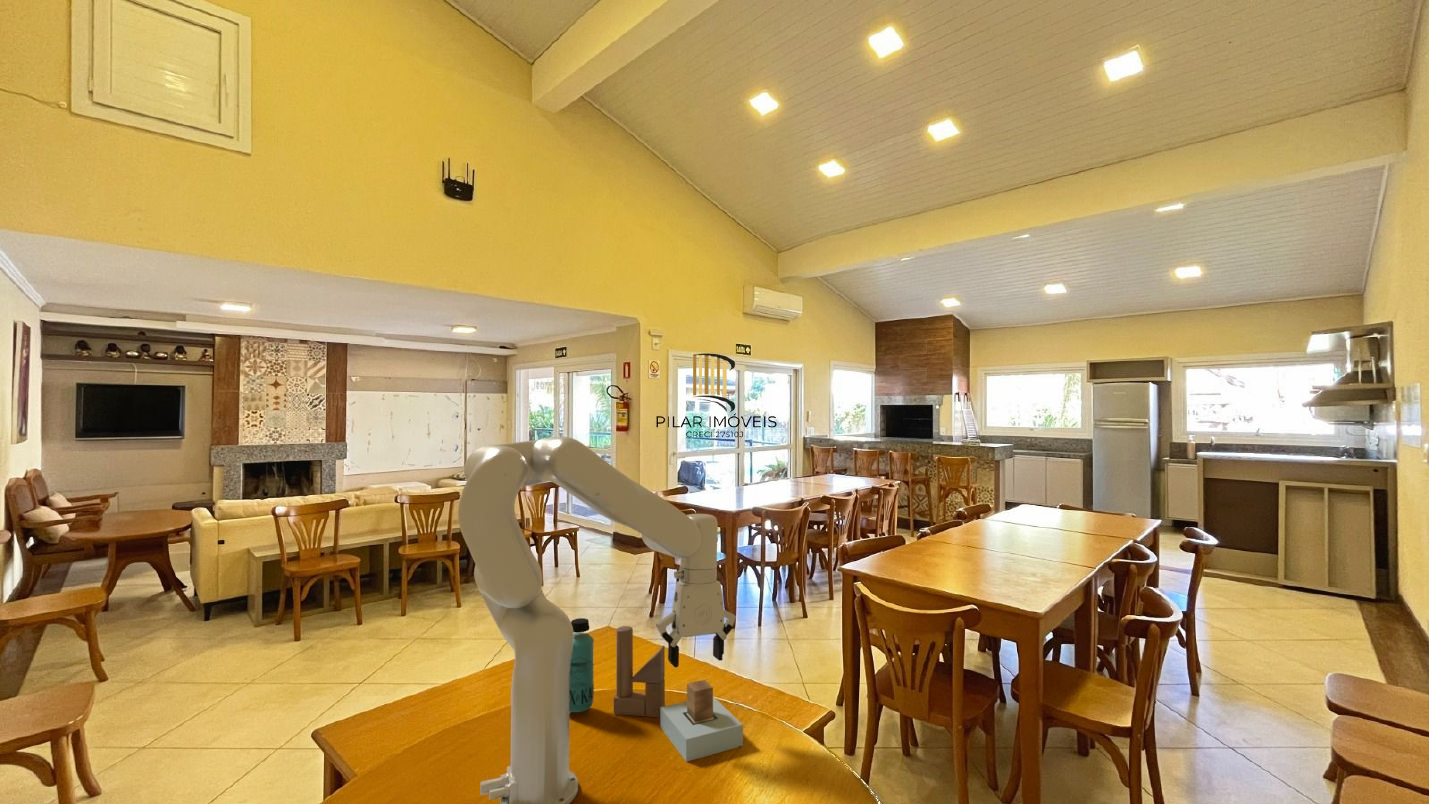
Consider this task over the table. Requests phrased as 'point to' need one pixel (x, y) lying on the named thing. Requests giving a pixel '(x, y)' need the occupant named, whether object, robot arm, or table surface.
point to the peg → (699, 702)
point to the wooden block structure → (638, 679)
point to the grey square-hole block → (701, 731)
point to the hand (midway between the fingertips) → (696, 661)
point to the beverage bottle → (581, 668)
